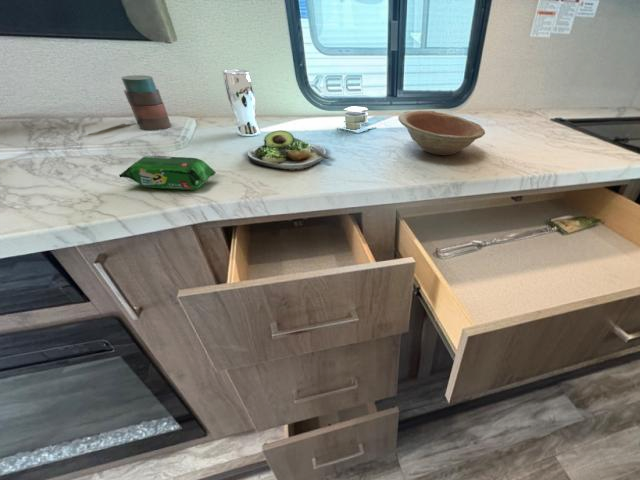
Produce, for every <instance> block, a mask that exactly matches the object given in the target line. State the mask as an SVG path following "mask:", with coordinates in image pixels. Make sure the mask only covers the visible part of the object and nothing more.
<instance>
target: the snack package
mask: <svg viewBox="0 0 640 480" xmlns="http://www.w3.org/2000/svg"><path fill="white" fill-rule="evenodd" d="M215 175H216V171H215V170H214V169H213V168H212V167H211V166H209V164H208V163H206V162H205V161H204V160H202V159H201V158H197V157H187V156H186V157H183V156H182V157H181V156H180V157H179V156H169V155H168V156H167V155H146V156H143V157H142V158H141V157H140V159H139V160H137V161H136V162H133V164H131V165H130V166H128V167H127V168H126V169H125V170H124V171H122V172H121V173H119V174H118V176H119V178H126V179H129V180H131V181H134V182H135V183H136V184H138V185H140V186H144V187H147V188H152V189H160V190H181V191H182V190H187V191H192V190H197V189H199V188H200V187H202V185H204V184H205V183H206V182H207V181H208V180H209V179H210V177H212V176H215Z"/></svg>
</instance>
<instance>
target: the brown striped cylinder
mask: <svg viewBox="0 0 640 480" xmlns="http://www.w3.org/2000/svg"><path fill="white" fill-rule="evenodd" d="M156 89H157V91H154V92H149V93H131V92H127V91H126V89H124V90H123V92H124V95H125V97H126V100H127V102H128V104H129V107H130V109H131V111H132V114H133V116H134V118H135V121H136V124H137V125H138V128H139V129H140V130H142V129H144V130H143V131H160V130H159V129H162V130H166V129H169V128H171V127H172V123H171V120H170V118H169V115H168V112H167V108H166V106H165V103H164V101H163V99H162V96H161V93H160V90H159V88H156ZM170 126H171V127H170ZM168 127H169V128H168ZM165 128H166V129H165Z"/></svg>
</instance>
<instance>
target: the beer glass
mask: <svg viewBox="0 0 640 480" xmlns="http://www.w3.org/2000/svg"><path fill="white" fill-rule="evenodd" d="M221 74H222V80H223V85H224V89H225V94H226V96H227V97H226V98H227V99H228V100H227V101H228V103H229V105H230V107H231V110H232V112H233V114H234V117H235V120H236V128H237V129H236V130H237V134H238V135H239V136H241V137H256V136H258V135H260V134H261V130H260V127H259V125H258V121H257V117H256V99H255V98H256V97H255V92H254V87H253V83H252V79H251V75H250V72H249V70H245V69H224V70H222V71H221Z"/></svg>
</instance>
